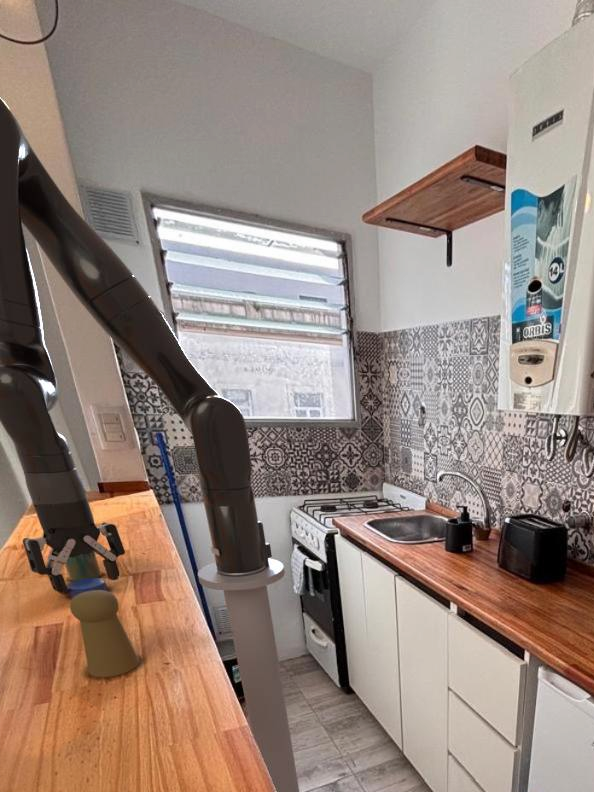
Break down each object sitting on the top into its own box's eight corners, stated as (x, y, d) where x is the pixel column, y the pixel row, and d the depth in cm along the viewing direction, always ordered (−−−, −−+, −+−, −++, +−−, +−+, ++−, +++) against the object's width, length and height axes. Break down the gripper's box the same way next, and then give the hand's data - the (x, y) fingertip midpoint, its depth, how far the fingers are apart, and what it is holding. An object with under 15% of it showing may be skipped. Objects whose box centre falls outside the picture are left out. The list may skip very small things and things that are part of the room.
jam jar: (92, 570, 106) (77, 524, 101) (107, 575, 103) (92, 528, 99) (64, 578, 101) (47, 529, 97) (79, 583, 99) (62, 534, 95)
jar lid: (63, 599, 92) (59, 589, 91) (77, 587, 97) (74, 578, 96) (100, 597, 93) (97, 588, 93) (112, 586, 98) (109, 577, 98)
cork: (149, 659, 75) (129, 588, 70) (114, 680, 69) (89, 604, 64) (114, 653, 76) (92, 583, 71) (77, 673, 70) (50, 599, 65)
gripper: (92, 488, 95) (117, 571, 102) (-2, 501, 84) (34, 594, 91) (115, 493, 92) (140, 578, 99) (21, 508, 81) (56, 603, 88)
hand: (89, 586), depth 95 cm, fingers open, 8 cm apart
